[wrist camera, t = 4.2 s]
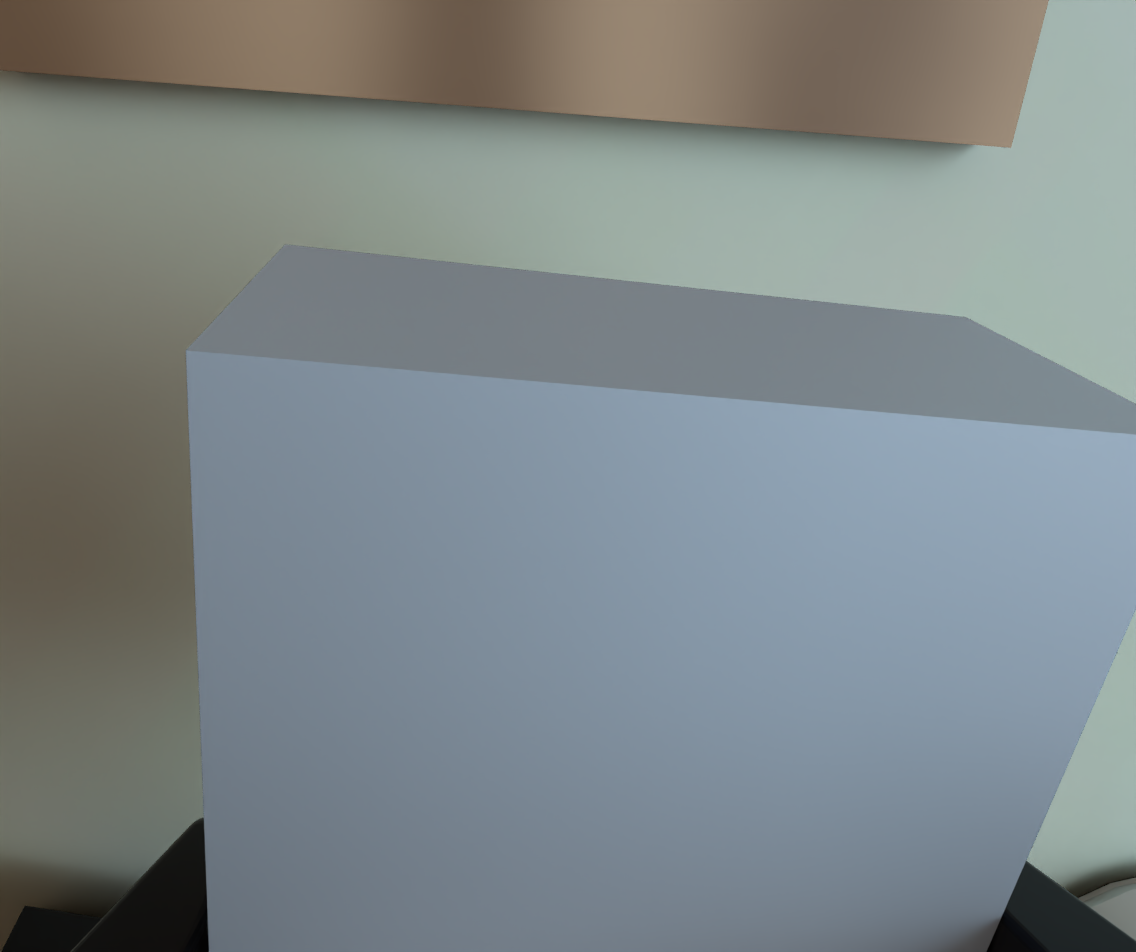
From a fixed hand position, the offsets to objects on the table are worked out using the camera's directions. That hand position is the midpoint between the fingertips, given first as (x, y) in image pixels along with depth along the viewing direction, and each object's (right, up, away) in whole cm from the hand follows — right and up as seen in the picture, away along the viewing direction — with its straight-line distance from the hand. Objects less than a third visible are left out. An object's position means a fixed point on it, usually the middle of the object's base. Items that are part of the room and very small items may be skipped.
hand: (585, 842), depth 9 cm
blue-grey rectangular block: (0, +1, +1) cm, 1 cm away
